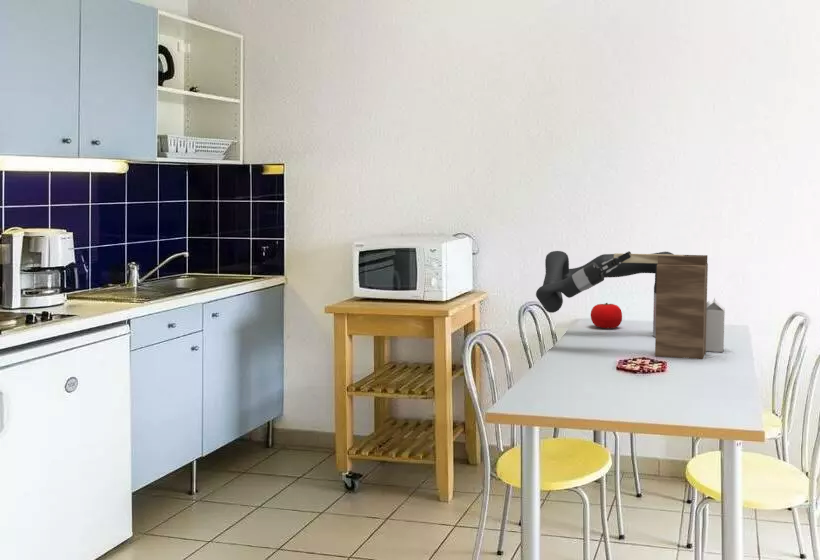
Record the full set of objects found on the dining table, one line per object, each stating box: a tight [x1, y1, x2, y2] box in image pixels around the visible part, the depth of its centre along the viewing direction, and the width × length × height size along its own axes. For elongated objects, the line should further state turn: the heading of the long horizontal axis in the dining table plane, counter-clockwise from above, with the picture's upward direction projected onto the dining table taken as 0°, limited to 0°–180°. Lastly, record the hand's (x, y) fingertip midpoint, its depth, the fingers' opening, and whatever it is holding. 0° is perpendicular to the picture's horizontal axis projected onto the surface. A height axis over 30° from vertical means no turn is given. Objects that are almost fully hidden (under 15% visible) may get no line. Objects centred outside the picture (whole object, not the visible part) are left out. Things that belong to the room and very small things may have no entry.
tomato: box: [590, 302, 623, 329], centre depth 413 cm, size 14×13×10 cm
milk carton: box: [706, 296, 726, 353], centre depth 357 cm, size 7×7×19 cm
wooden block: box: [613, 252, 685, 263], centre depth 350 cm, size 3×24×3 cm, turn 69°
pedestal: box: [654, 254, 709, 360], centre depth 347 cm, size 12×16×35 cm
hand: (630, 254), depth 352 cm, fingers closed on wooden block, 3 cm apart
